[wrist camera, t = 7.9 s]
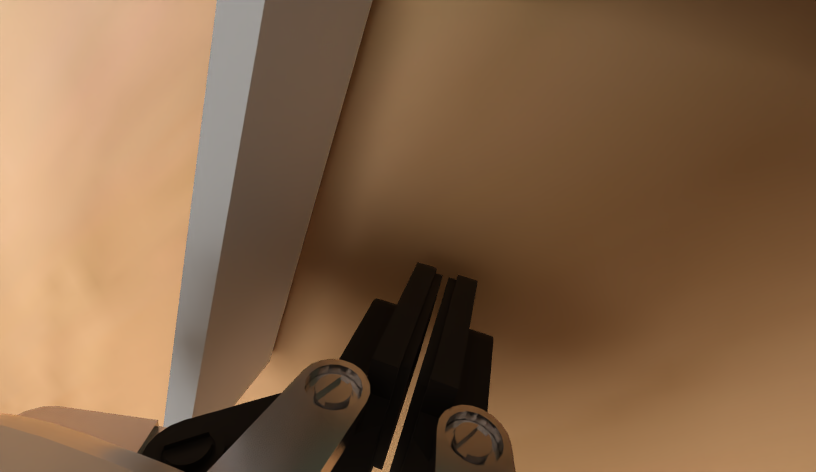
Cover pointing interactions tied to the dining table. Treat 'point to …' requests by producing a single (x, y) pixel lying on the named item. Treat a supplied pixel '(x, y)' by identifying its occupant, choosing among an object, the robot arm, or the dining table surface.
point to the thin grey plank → (255, 186)
